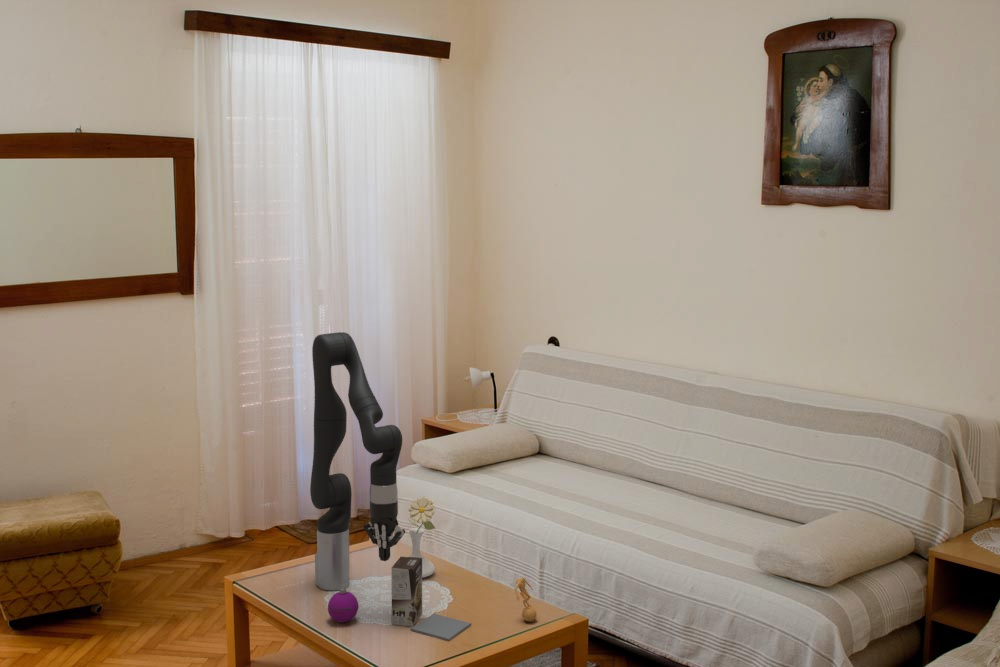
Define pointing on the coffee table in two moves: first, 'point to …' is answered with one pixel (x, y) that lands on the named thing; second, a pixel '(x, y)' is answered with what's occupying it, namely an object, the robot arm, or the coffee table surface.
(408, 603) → the coffee box
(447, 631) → the slate mat
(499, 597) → the coffee table surface
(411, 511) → the flower in vase
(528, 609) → the figurine
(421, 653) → the coffee table surface
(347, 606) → the christmas ornament
